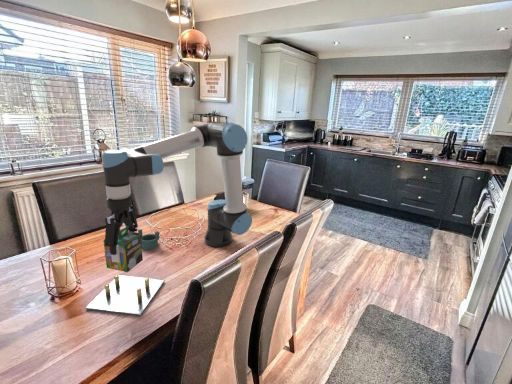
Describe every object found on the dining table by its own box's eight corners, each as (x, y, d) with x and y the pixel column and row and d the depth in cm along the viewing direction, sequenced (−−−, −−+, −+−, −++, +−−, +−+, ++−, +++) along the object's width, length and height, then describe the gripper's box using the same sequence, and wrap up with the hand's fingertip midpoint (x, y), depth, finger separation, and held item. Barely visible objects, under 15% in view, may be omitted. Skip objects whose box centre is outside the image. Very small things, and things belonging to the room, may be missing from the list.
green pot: (160, 248, 142) (159, 232, 140) (141, 251, 138) (140, 235, 135) (156, 241, 150) (156, 225, 147) (138, 244, 145) (137, 228, 143)
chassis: (164, 282, 115) (163, 270, 114) (140, 316, 96) (139, 303, 95) (118, 277, 117) (117, 265, 116) (86, 309, 98) (84, 296, 97)
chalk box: (123, 256, 108) (119, 220, 104) (143, 260, 106) (141, 224, 102) (105, 268, 100) (100, 230, 95) (127, 273, 98) (123, 234, 93)
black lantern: (218, 187, 211) (245, 187, 198) (222, 205, 216) (249, 207, 203) (205, 194, 199) (233, 194, 186) (210, 213, 204) (238, 215, 191)
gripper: (126, 186, 106) (130, 239, 113) (86, 205, 85) (94, 269, 91) (145, 188, 105) (148, 241, 112) (109, 208, 84) (116, 272, 91)
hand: (124, 254), depth 102 cm, fingers closed on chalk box, 10 cm apart
